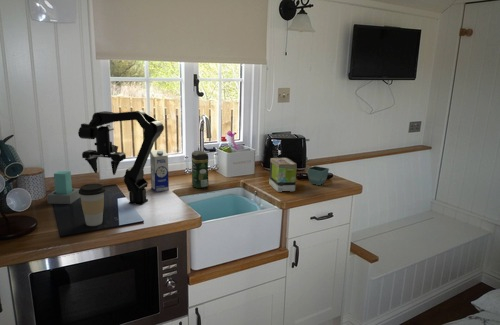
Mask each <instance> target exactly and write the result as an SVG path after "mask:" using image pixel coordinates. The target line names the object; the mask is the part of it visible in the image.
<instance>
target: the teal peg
mask: <svg viewBox="0 0 500 325" xmlns="http://www.w3.org/2000/svg"><path fill="white" fill-rule="evenodd" d="M53 180H54V189H55V192H56V194H69V193H71V192H72V188H73V184H72V173H71V171H69V170H58V171H57V172H54V173H53Z"/></svg>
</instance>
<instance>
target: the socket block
mask: <svg viewBox="0 0 500 325" xmlns="http://www.w3.org/2000/svg"><path fill="white" fill-rule="evenodd" d="M79 190H80V188H73V187H72V192H71V193H69V194H56V192H55V190H53V191H51V192H48V194H46V200H47V204H51V205H52V204H54V205H57V204H58V205H72V204H73V203H74V202H75V201H77V200H78V199H81V197H80V194H79Z"/></svg>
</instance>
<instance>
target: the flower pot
mask: <svg viewBox="0 0 500 325" xmlns="http://www.w3.org/2000/svg"><path fill="white" fill-rule="evenodd" d="M329 170H330V168H329V167H328V168H327V167H323V166H317V165H315V166H311V167H309V168H307V177H308V180H309V183H310V184H311V183H312V184H311V185H313V184H317V185H316V186H318V185H320V186H322V185H324V184H325V182H326V181H327V179H328V174H329ZM323 183H324V184H323ZM321 184H322V185H321Z"/></svg>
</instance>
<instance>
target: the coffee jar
mask: <svg viewBox="0 0 500 325" xmlns="http://www.w3.org/2000/svg"><path fill="white" fill-rule="evenodd" d="M191 184H192V186H193V187H195V188H197V189H199V188H200V189H203V188H204V189H205V188H207V187H209V154H208V153H207V152H205V151H204V150H201V149H200V150H194V151H192V153H191Z"/></svg>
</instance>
